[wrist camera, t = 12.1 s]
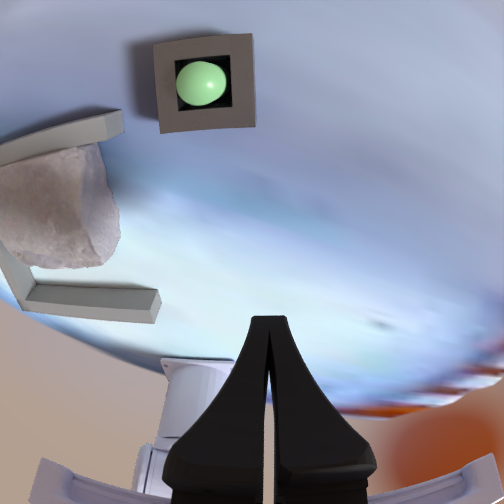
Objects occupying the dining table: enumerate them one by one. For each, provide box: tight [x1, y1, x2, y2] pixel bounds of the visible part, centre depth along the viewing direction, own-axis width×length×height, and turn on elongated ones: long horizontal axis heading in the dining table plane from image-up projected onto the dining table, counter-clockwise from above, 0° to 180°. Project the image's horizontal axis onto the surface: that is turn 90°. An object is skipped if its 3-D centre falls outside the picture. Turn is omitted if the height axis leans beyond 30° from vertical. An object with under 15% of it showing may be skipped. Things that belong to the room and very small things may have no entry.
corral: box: [0, 110, 162, 324], centre depth 20 cm, size 16×16×2 cm
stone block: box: [0, 142, 121, 269], centre depth 19 cm, size 12×5×10 cm
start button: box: [176, 61, 231, 106], centre depth 14 cm, size 2×2×4 cm
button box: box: [153, 33, 256, 134], centre depth 15 cm, size 5×5×3 cm
